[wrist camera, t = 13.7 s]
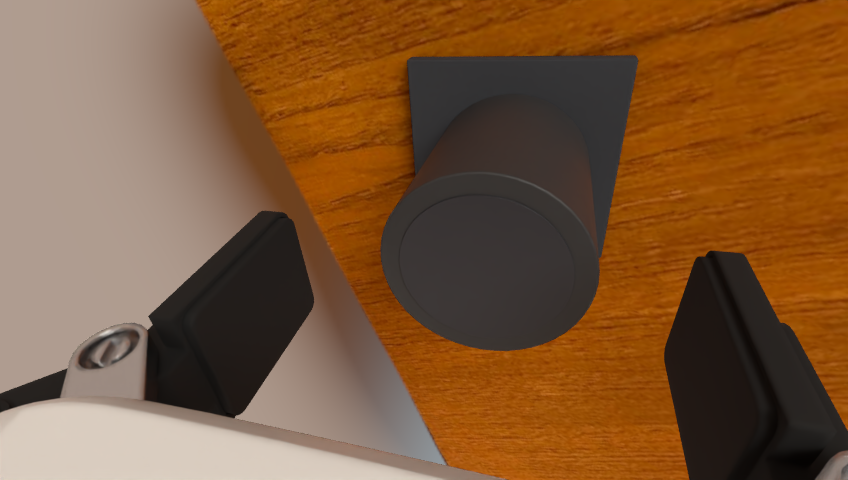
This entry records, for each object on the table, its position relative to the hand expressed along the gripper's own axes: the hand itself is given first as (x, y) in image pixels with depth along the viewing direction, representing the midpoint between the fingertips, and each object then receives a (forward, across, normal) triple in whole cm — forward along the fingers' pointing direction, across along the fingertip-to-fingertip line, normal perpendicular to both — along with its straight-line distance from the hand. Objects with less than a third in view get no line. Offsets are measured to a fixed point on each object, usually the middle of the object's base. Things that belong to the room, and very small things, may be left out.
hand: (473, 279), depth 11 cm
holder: (+8, 0, +1) cm, 8 cm away
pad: (+9, 0, +1) cm, 9 cm away
